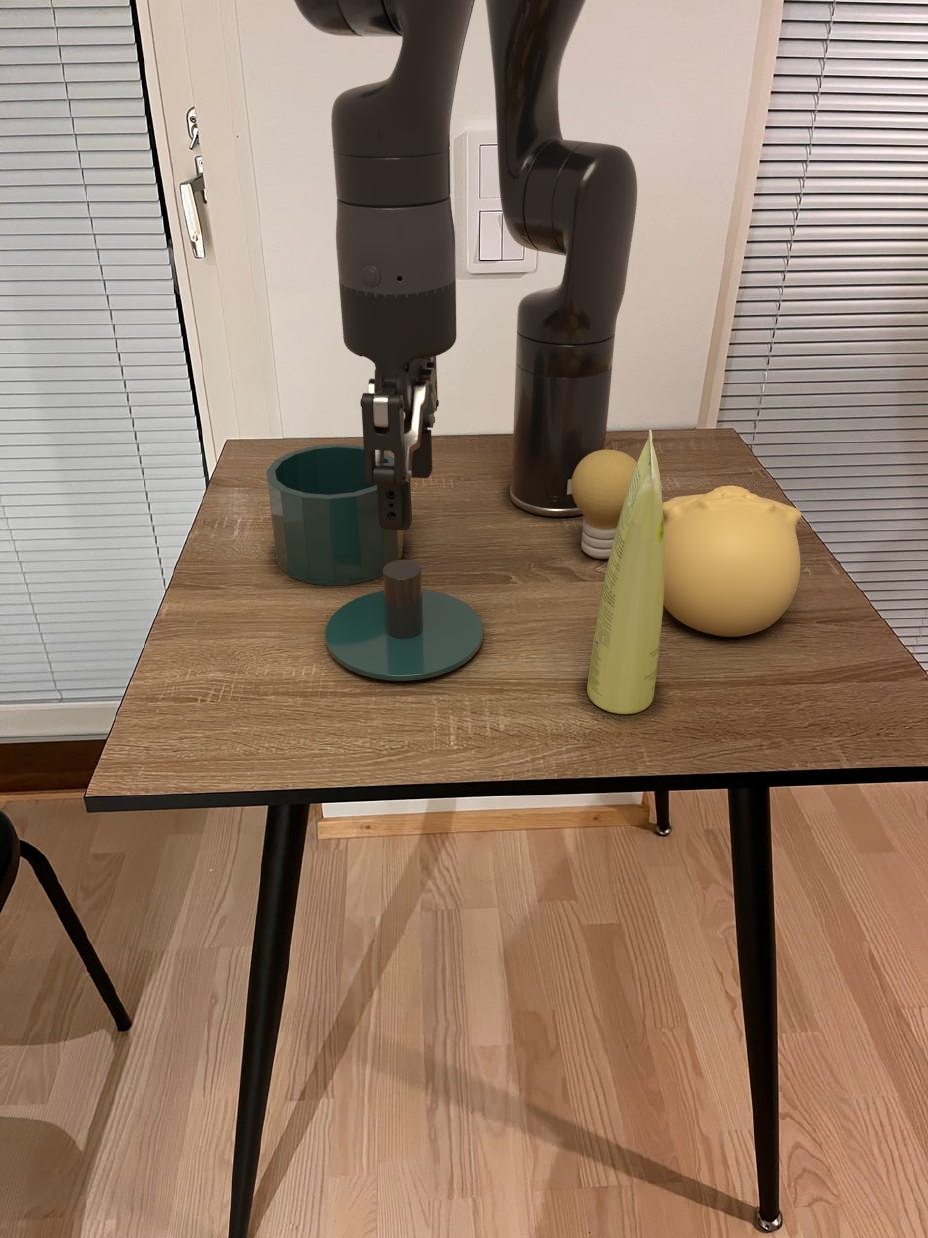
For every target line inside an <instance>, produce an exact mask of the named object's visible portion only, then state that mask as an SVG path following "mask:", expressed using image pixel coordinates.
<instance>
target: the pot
mask: <svg viewBox="0 0 928 1238" xmlns="http://www.w3.org/2000/svg"><path fill="white" fill-rule="evenodd" d="M383 463H392V464H394V456H392V455H391V454H389V453H387V451H386V452H385V451H384V460H383ZM364 472H365V462H364V444H363V445H361V444H349V443H331V444H328V443H327V444H319V445H317V444H316V445H312V446H307V447H303V448H300V449H296V450H292V451H289V452H287V453H285V454H284V455H282V456H280V457H278V458H276V459H274V460H273V461H272V463H271V464H270V465H269V466H268V467H267V469H266V471H265V473H266V482H267V483H266V484H267V491H268V500H269V501H268V502H269V508H270V516H271V524H272V525H271V526H272V534H273V535H272V536H273V543H274V550H275V556H276V557H275V558H276V562H277V565H278V567H279V569H280V570H281V571H282V572H283V573H285V575H287V576H288V577H291V578H292V579H294V580H297V581H300V582H302V583H306V584H310V585H311V584H312V585H316V586H317V585H318V586H329V587H332V586H333V587H335V586H336V587H338V586H339V587H340V586H351V585H356V584H357V585H358V584H361V583H366V582H369V581H372V580H375V579H378V578H380V577H383V568H384V566H385V565H386V564H388V563H390V562H393V561H397V560H402V557H403V549H404V530H388V529H383V528H382V527H381V526H380V524H379V513H378V498H377V484H370V483H366V479H365V477H364Z"/></svg>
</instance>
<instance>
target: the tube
mask: <svg viewBox="0 0 928 1238" xmlns="http://www.w3.org/2000/svg"><path fill="white" fill-rule="evenodd" d="M636 462H637V465H636V467H635V470H634V473H633V476H632V479H631V482H630V485H629V488H628V491H627V494H626V497H625V501H624V504H623V508H622V511H621V515H620V518H619V522H618V525H617V529H616V533H615V537H614V540H613V545H612V549H611V553H610V557H609V558H608V561H607V566H606V570H605V575H604V579H603V584H602V589H601V594H600V599H599V606H598V612H597V618H596V624H595V629H594V637H593V642H592V648H591V649H592V650H591V655H590V662H589V670H588V678H587V684H586V685H587V686H586V687H587V688H586V693H587V696H588V698H589V700H590V701H591V702H592V703H593V704H594V705H595V706H596V707H598V708H600V709H602V710H603V711H606V712H608V713H612V714H617V715H629V714H630V715H632V714H637V713H640V712H643V711H644V710H646V709H647V708H649V706H651V704H652V703H653V700H654V696H655V690H656V681H657V674H658V666H659V656H660V647H661V639H662V626H663V615H664V614H663V613H664V604H663V602H664V581H665V546H664V522H663V505H662V503H663V493H662V482H661V475H660V469H659V463H658V458H657V454H656V450H655V446H654V443H653V432H652V429H650V428H649V430H648V437H647V440H646V442H645V444H644V446H643V448H642V450H641V453H640V455H639V457H638V460H637V461H636Z"/></svg>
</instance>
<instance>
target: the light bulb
mask: <svg viewBox="0 0 928 1238" xmlns="http://www.w3.org/2000/svg"><path fill="white" fill-rule="evenodd" d="M637 462H638V461H637V460H636V459H634V458H633V457H632V456H631V455H630V454H627V453H625V452H624V451H623V452H622V451H619V450H616V449H605V450H599V451H595V452H593V453H591V454H589V455H587V456H586V457H585V458H583V459H582V460H581V461H580V463H579V464H578V465H577V467H576V469H575V471H574V474H573V477H572V482H571V490H572V495H573V498H574V501H575V503H576V505H577V506H578V508H579V510H580V511H581V512H582V514H581V515H583V517H584V520H583V521H582V533H581V544H580V545H581V549H582V551H583V552H584V553H585V554H586V555H587V556H589V557H591V558H593V559H599V560H607V559H608V560H609V557H610V553H611V549H612V545H613V540H614V537H615V533H616V529H617V525H618V522H619V518H620V515H621V511H622V508H623V504H624V501H625V497H626V494H627V491H628V488H629V485H630V482H631V479H632V476H633V473H634V470H635V467H636V465H637Z"/></svg>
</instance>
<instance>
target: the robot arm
mask: <svg viewBox="0 0 928 1238" xmlns="http://www.w3.org/2000/svg"><path fill="white" fill-rule="evenodd" d="M475 1H476V0H293V2H294V3H295V5H296V8H297V9H298V11H299V13H300V14H301V15H302V17H303V18H304V19H305V20H306V21H307V22H308V23H309V25H310V26H312V27H313V28H315V29H316V30H318V31H320V32H322V33H325V34H328V35H332V36H336V37H369V38H370V37H371V38H372V37H383V38H384V37H386V38H387V37H388V38H389V37H400V38H401V47H400V50H399V51H400V52H399V54H398V57H397V60H396V63H395V65H394V67H393V70H392V72H391V74H390V76H389V77H387V78H386V79H384V80H381V81H378V82H372V83H367V84H363V85H359V86H355V87H351V88H349V89H346V90H345V91H343V92H341V93H340V94H339V95H338V96H337V97H336V98H335V99H334V101H333V103H332V108H331V117H330V118H331V119H330V121H331V122H330V123H331V124H330V125H331V126H330V127H331V139H332V143H331V144H332V155H333V167H334V182H335V195H336V221H335V222H336V223H335V248H336V259H337V271H338V285H339V286H338V287H339V288H338V289H339V298H340V299H339V301H340V314H341V325H342V339H343V344H344V346H345V347H346V349H348V350H349V351H350V352H351V353H352V354H354V355H356V356H358V357H364V358H366V359H368V361H371V362H372V364H374V367H375V369H374V377H372V378H369V379H368V383H367V392H363V393H362V395H361V398H360V404H359V405H360V408H361V422H362V423H361V424H362V425H361V426H362V442H363V446H364V462H365V472H364V477H365V479H366V483H370V484H377V498H378V513H379V524H380V526H381V527H382V528H383V529H388V530H403V531H407V530H409V529H410V527H411V525H412V522H413V510H412V509H413V507H412V487H411V486H412V483H411V478H413V479H428V478H430V476H431V475H432V472H433V443H432V442H433V440H432V439H433V437H432V429H433V428H434V426H435V425H434V424H435V423H436V416H435V413H436V412H437V410H438V407H439V406H440V401H439V397H438V369H437V367H438V365H437V356H440V355H442V354H445V353H447V352H448V351H449V350H451V348H452V347H453V346H454V345H455V343H456V341H457V272H456V271H457V269H456V268H457V267H456V266H457V265H456V264H457V263H456V233H455V232H456V231H455V223H454V217H453V209H452V198H451V197H452V196H451V193H452V192H451V191H452V189H451V148H450V147H451V120H452V112H453V106H454V99H455V93H456V88H457V82H458V76H459V71H460V65H461V61H462V55H463V51H464V46H465V42H466V39H467V35H468V34H467V33H468V30H469V26H470V22H471V18H472V15H473V10H474V6H475ZM484 2H485V8H486V16H487V24H488V35H489V45H490V55H491V63H492V73H493V74H492V75H493V84H494V100H495V121H496V122H495V123H496V125H495V126H496V146H497V168H498V187H499V198H500V205H501V212H502V216H503V220H504V223H505V227H506V229H507V231H508V233H509V234H510V237H511V238H512V239H513V240H514V241H515V242H516V243H517V244H518V245H520V246H522V247H523V248H526V249H529V250H531V251H532V250H533V251H537V252H543V253H548V254H552V255H553V254H554V255H558V256H564V257H565V263H564V269H563V274H562V279H561V282H560V284H558V285H557V286H553V287H548V288H543V289H540V290H535V291H533V292H530V293H528V294H526V295H524V296H523V297H522V298H521V299H520V301H519V303H518V305H517V312H516V338H515V339H516V341H515V344H516V345H515V372H514V374H515V375H514V401H513V405H514V406H513V429H512V430H513V431H512V454H511V455H512V457H511V458H512V459H511V484H510V487H509V497H510V500H511V502H512V503H513V504H514V505H515V506H516V507H518V508H519V509H522V510H524V511H525V512H528V513H531V514H534V515H539V516H546V517H556V518H557V517H558V518H561V517H562V518H563V517H573V516H579V515H583V514H582V512H581V511H580V510H579V508H578V506H577V505H576V503H575V501H574V498H573V495H572V490H571V482H572V477H573V474H574V471H575V469H576V467H577V465H578V464H579V463H580V461H581V460H582V459H583V458H585V457H586V456H587V455H589V454H591V453H593V452H595V451H599V450H606V440H607V430H608V419H609V410H610V409H609V407H610V398H611V397H610V396H611V387H612V374H613V364H614V363H613V362H614V353H615V352H614V351H615V350H614V349H615V341H616V340H615V338H616V330H617V329H616V328H617V320H618V316H619V312H620V309H621V306H622V303H623V300H624V297H625V291H626V287H627V278H628V268H629V263H630V255H631V247H632V241H633V235H634V229H635V222H636V214H637V206H638V176H637V172H636V166H635V163H634V161H633V159H632V157H631V155H630V154H629V153H628V151H627V150H626V149H624V148H622V147H621V146H618V145H614V144H609V143H601V142H591V141H583V140H582V141H581V140H571V139H564V137H563V134H562V130H561V129H562V128H561V124H560V123H561V122H560V108H559V107H560V106H559V85H560V84H559V82H560V72H561V67H562V63H563V59H564V56H565V52H566V50H567V46H568V44H569V42H570V40H571V36H572V35H573V32H574V31H575V27H576V25H577V23H578V20H579V18H580V16H581V13H582V11H583V9H584V6H585V4H586V2H587V0H485V1H484ZM385 451H386V452H391V453H392V454H393V457H394V464H392V463H383V460H384V452H385Z"/></svg>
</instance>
